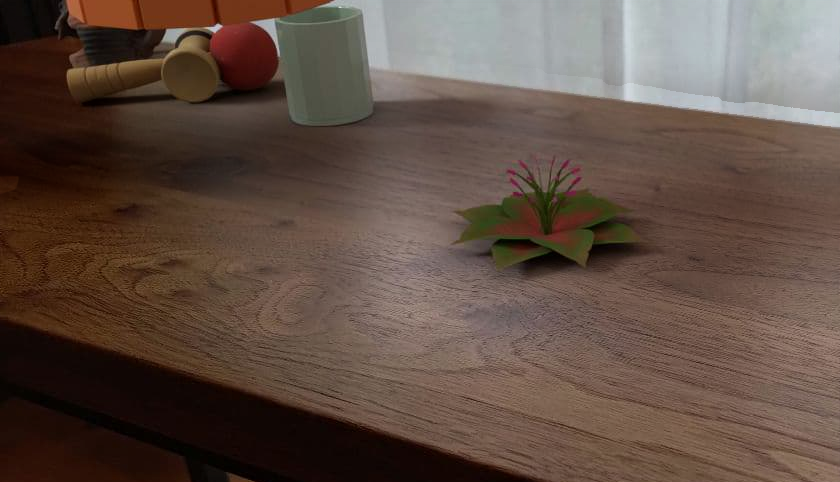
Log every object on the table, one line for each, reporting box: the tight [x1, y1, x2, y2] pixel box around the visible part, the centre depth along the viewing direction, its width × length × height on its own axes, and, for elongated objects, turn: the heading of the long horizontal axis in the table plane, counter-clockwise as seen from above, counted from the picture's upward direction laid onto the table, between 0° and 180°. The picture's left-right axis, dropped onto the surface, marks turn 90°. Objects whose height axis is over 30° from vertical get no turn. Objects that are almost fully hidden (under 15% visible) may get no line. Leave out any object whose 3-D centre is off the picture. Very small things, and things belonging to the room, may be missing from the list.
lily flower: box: [450, 154, 650, 272], centre depth 57 cm, size 12×12×5 cm
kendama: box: [66, 22, 280, 104], centre depth 88 cm, size 8×6×18 cm
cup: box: [274, 5, 375, 127], centre depth 80 cm, size 7×7×8 cm
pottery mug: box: [54, 0, 167, 69], centre depth 100 cm, size 12×10×8 cm
